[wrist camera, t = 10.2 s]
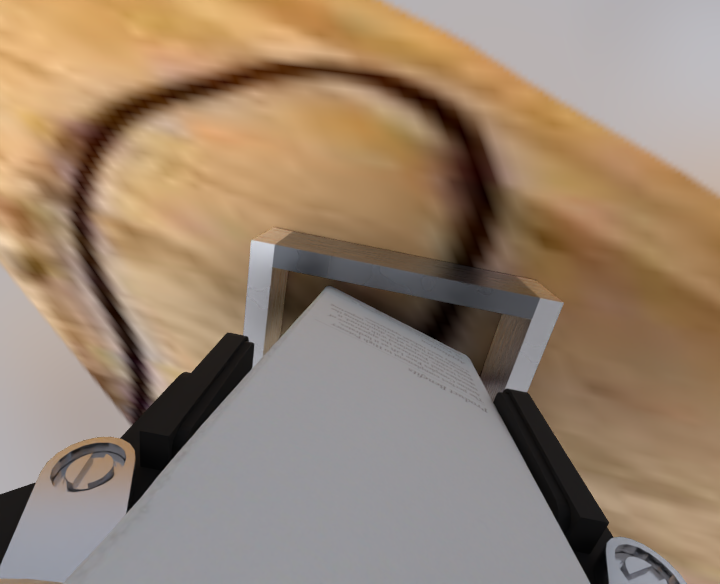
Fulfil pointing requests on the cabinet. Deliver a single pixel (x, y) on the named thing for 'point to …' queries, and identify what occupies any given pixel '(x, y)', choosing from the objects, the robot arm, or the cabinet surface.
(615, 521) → the cabinet surface
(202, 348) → the cabinet surface
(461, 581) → the skincare box
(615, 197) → the cabinet surface
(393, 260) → the socket collar
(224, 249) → the cabinet surface
